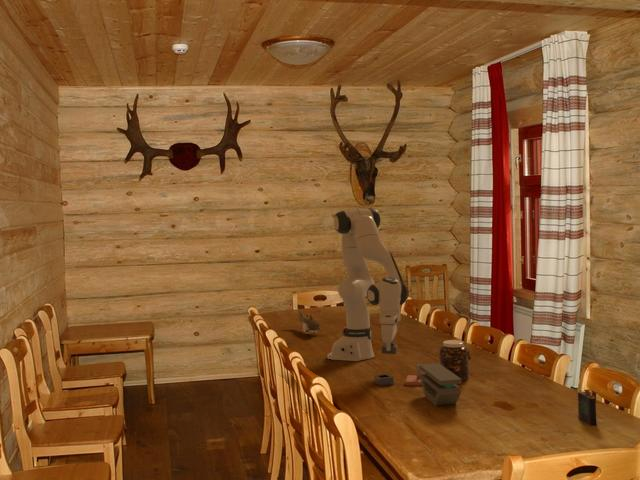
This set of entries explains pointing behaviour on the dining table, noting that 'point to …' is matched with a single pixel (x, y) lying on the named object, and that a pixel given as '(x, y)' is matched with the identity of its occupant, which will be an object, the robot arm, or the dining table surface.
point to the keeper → (414, 378)
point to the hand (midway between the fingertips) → (389, 348)
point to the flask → (587, 407)
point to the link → (393, 350)
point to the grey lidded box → (440, 384)
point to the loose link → (383, 379)
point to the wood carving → (308, 323)
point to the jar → (455, 358)
